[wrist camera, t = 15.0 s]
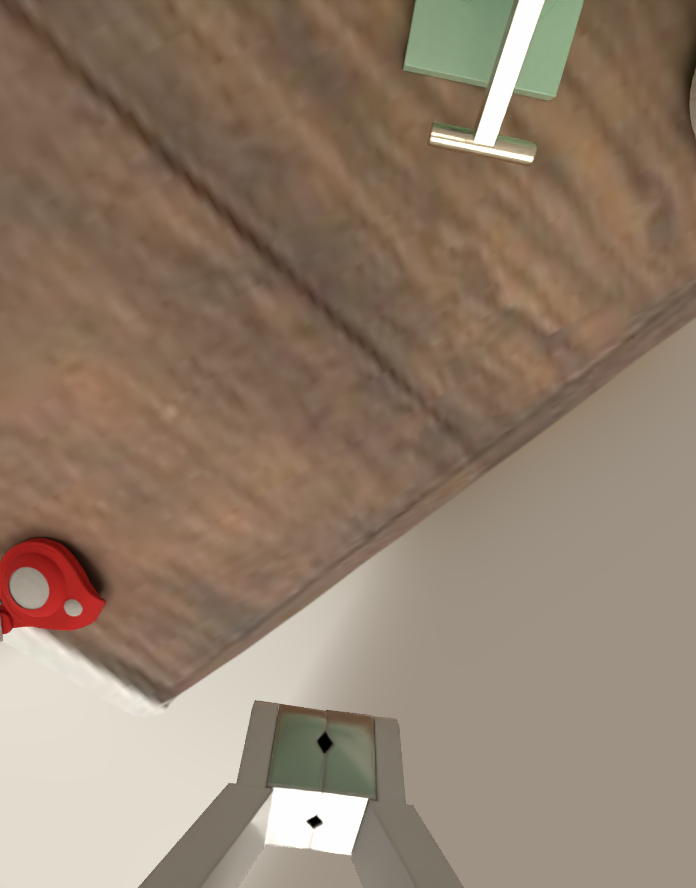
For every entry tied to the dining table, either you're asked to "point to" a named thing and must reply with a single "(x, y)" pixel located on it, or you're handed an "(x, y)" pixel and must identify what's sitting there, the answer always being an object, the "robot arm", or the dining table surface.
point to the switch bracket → (489, 42)
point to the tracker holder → (45, 588)
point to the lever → (497, 97)
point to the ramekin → (693, 103)
